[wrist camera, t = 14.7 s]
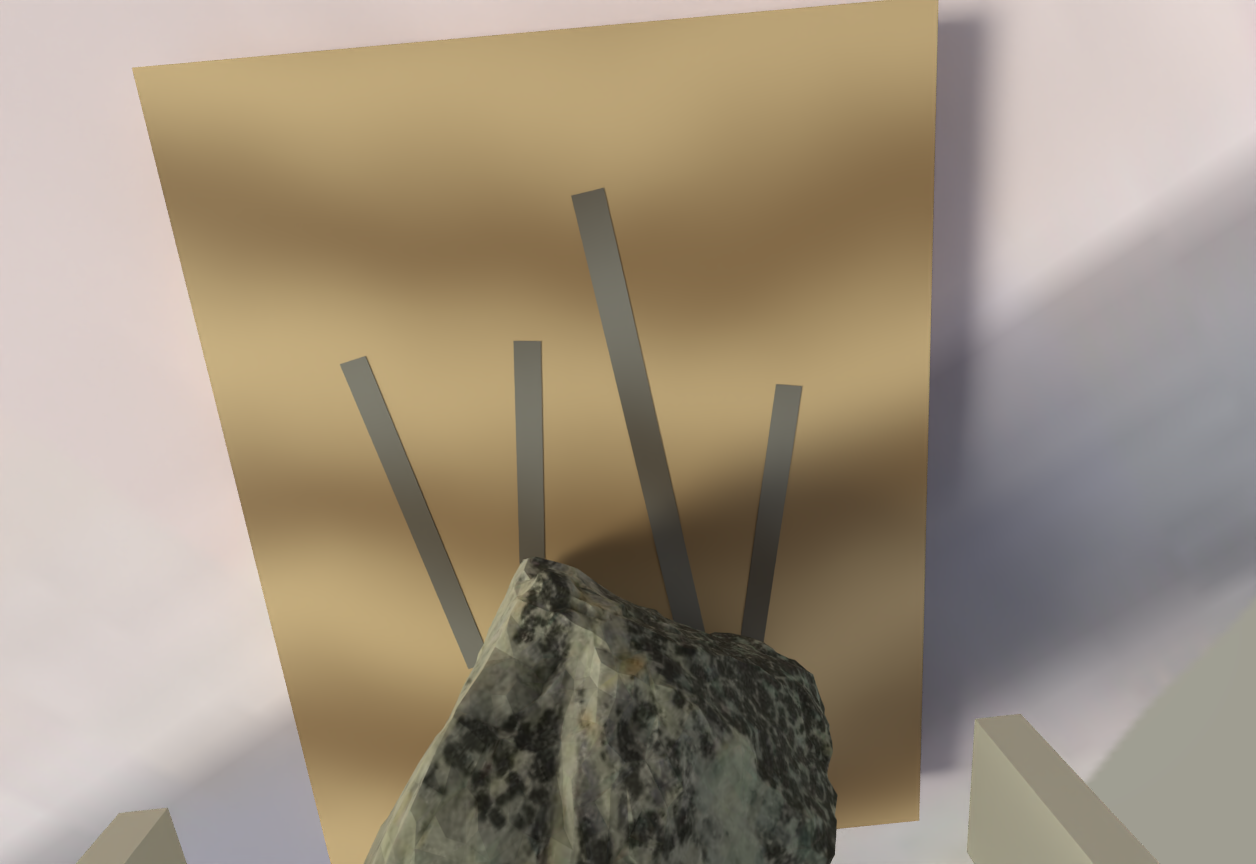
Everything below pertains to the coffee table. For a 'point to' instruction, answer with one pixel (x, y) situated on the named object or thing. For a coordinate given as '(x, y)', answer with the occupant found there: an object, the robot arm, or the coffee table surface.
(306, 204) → the board
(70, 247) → the coffee table surface
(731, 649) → the stone
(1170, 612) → the coffee table surface
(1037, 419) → the coffee table surface
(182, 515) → the coffee table surface
